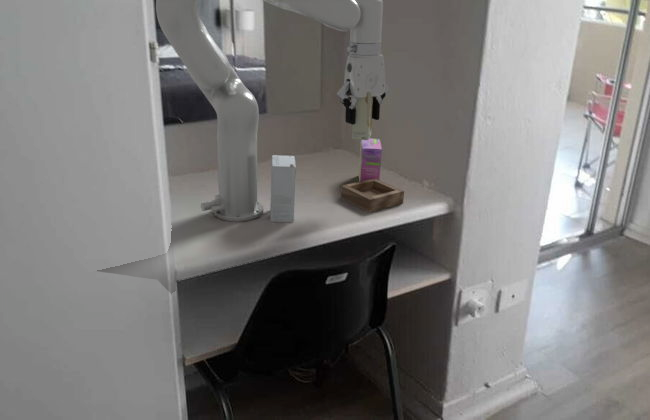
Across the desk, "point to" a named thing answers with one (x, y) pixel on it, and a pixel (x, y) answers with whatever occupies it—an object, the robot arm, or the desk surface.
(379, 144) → the box
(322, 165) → the desk surface
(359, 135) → the skincare box
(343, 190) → the shallow wooden tray
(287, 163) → the skincare box
